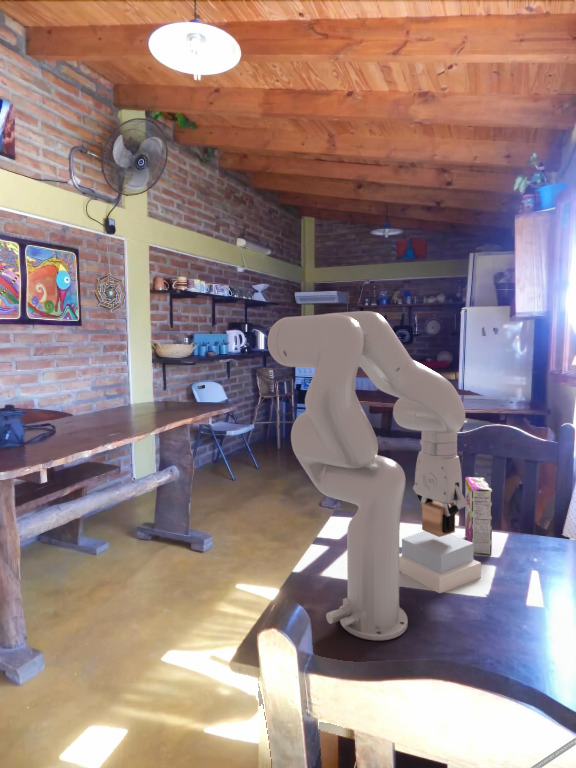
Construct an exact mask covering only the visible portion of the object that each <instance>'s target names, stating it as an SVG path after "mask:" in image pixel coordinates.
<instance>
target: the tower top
mask: <svg viewBox="0 0 576 768" xmlns="http://www.w3.org/2000/svg"><path fill="white" fill-rule="evenodd" d="M473 549H474V543H472V542H469V541H467V539H464V538H462V537H459V536H456V535H454V534H452V533H451V534H448V535H445V536H441V537H438V536H436V535H433V534H431V533H429V532H426V531H424V530H422V531H420V532H418V533H415V534H412V535H408V536H405V537H403V538H402V539H401V553H402V556H404V557H406V558H408V559H410V560H412V561H414V562H416V563H419V564H421V565H423V566H425V567H427V568H429V569H431V570H433V571H435V572H437V573H440V574H443V573H445V572H447V571H450V570H452V569H454V568H457V567H459V566H461V565H464V564H466V563H468V562H471V561H473V559H474V553H473Z"/></svg>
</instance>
